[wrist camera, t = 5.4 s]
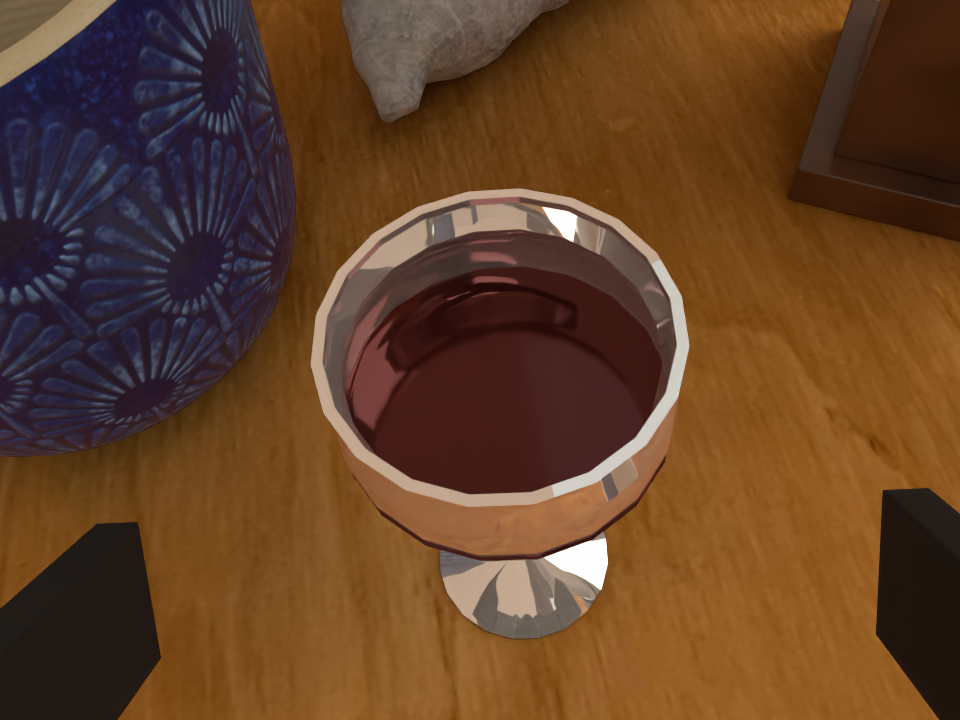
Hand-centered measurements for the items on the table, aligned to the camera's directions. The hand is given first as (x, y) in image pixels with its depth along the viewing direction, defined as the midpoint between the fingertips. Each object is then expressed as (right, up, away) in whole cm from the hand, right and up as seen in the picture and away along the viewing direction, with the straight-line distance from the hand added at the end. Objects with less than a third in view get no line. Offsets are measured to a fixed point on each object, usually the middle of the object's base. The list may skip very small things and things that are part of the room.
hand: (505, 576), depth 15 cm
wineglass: (+1, -2, +10) cm, 11 cm away
